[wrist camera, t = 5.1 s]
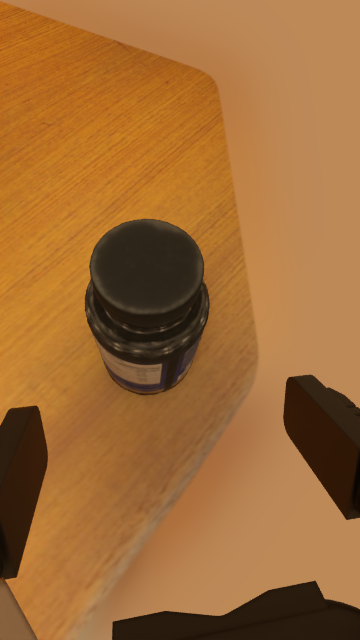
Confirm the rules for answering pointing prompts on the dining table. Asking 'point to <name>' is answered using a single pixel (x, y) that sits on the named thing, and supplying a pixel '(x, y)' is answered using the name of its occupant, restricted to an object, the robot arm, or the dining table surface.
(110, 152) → the dining table surface
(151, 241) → the pill bottle
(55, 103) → the dining table surface
